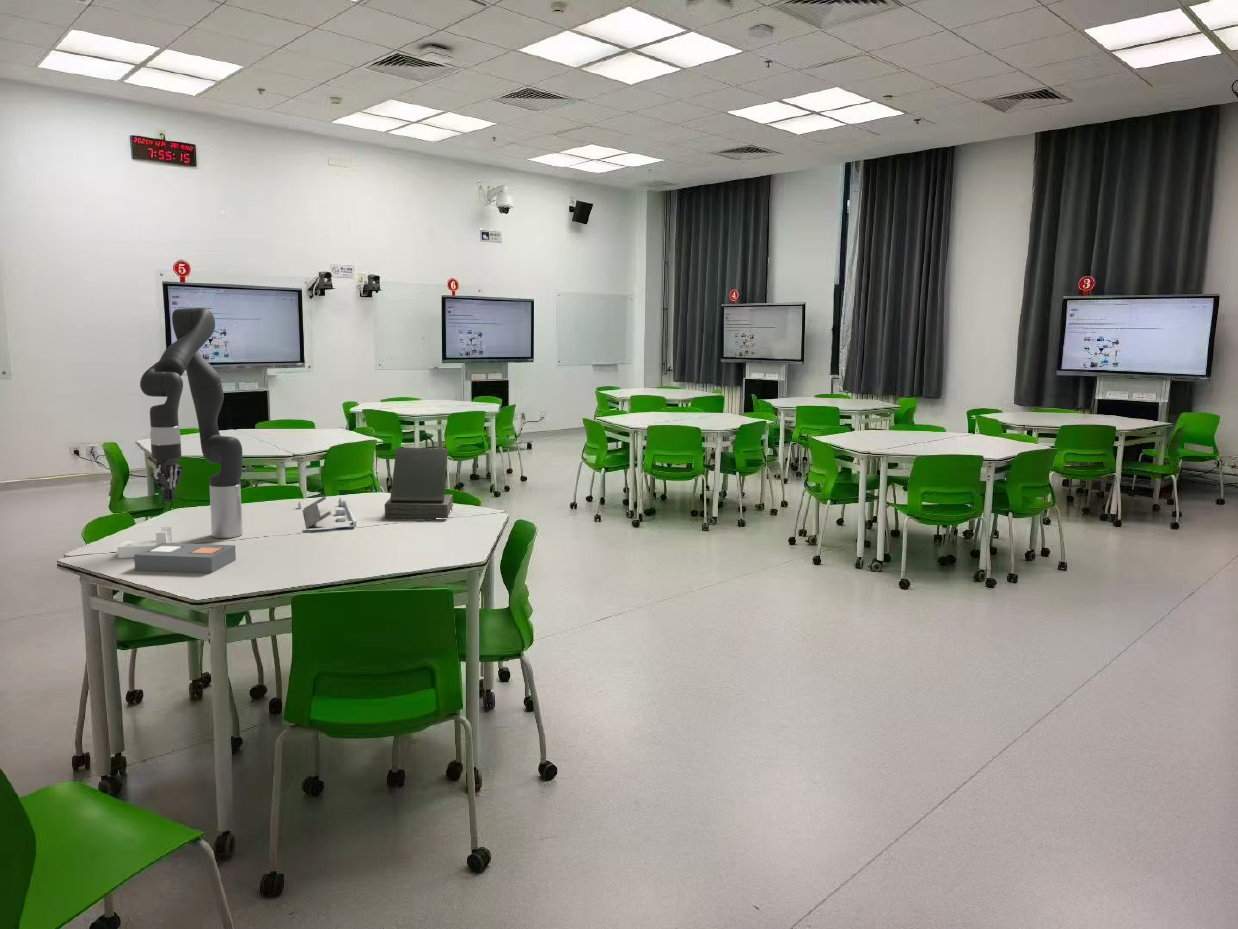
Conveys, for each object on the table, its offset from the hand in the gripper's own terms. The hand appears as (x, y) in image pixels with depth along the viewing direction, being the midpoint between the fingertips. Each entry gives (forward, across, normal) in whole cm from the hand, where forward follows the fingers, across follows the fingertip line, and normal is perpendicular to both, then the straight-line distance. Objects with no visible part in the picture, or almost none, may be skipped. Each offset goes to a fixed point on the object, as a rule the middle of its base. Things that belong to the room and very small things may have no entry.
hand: (169, 501), depth 241 cm
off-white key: (+17, +2, -1) cm, 17 cm away
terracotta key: (+17, +2, +11) cm, 21 cm away
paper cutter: (+20, -65, +20) cm, 71 cm away
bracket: (+19, -9, -14) cm, 25 cm away
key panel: (+18, +2, +5) cm, 19 cm away
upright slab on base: (+20, -78, +52) cm, 96 cm away
